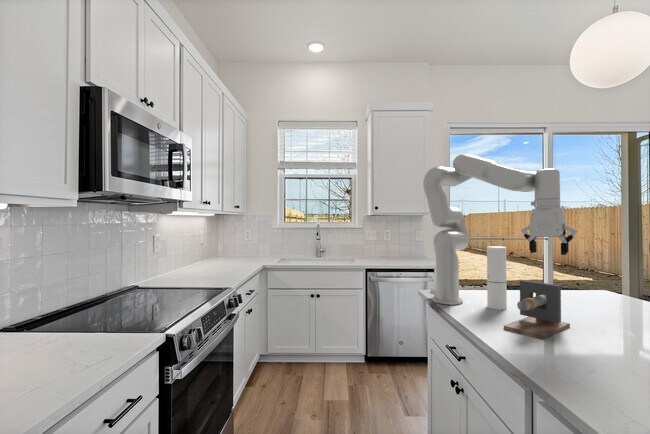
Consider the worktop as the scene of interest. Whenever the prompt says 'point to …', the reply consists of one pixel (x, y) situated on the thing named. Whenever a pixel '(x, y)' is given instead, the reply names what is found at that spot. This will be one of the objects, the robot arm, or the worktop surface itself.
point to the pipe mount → (535, 320)
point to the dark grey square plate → (552, 300)
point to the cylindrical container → (496, 278)
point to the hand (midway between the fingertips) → (548, 253)
